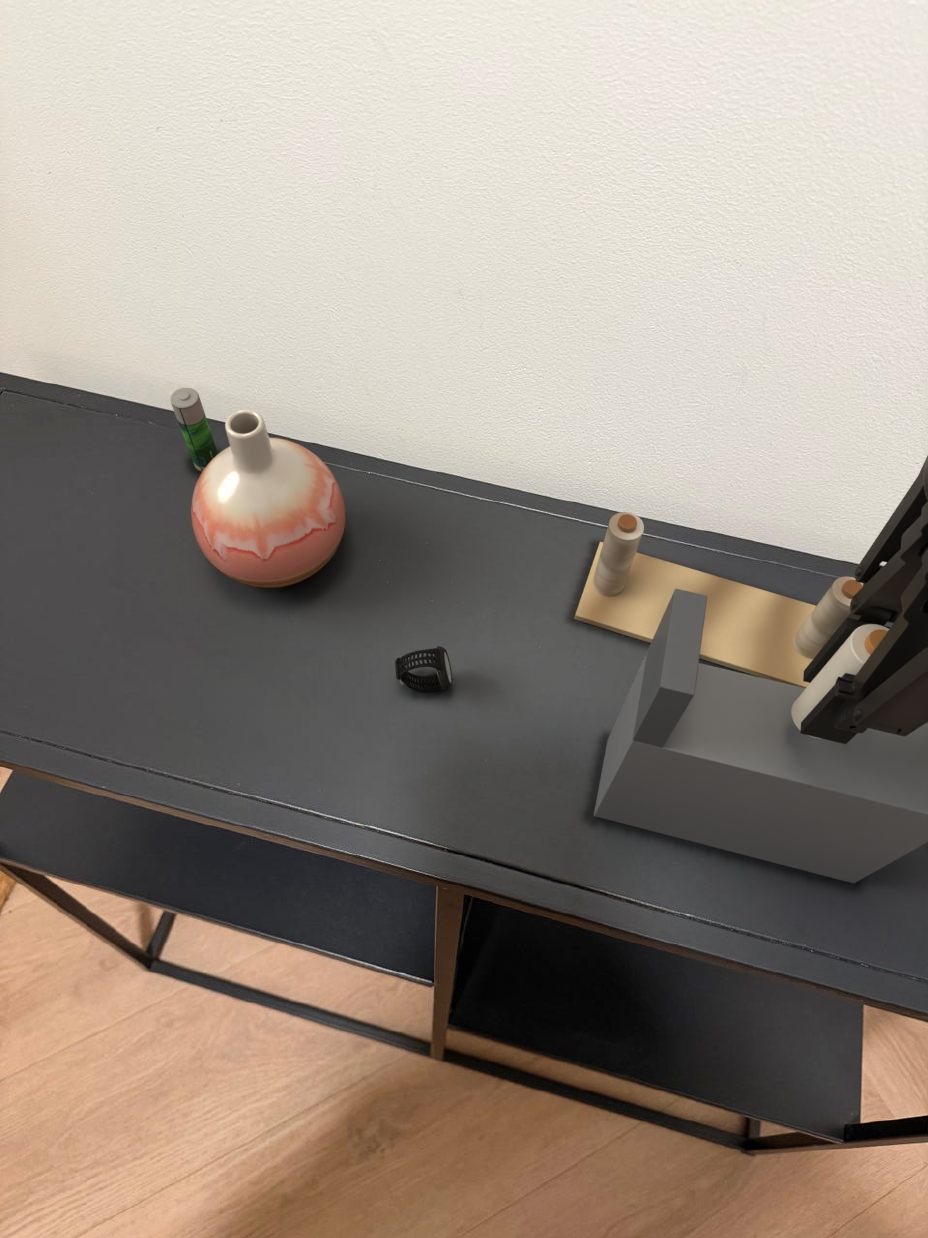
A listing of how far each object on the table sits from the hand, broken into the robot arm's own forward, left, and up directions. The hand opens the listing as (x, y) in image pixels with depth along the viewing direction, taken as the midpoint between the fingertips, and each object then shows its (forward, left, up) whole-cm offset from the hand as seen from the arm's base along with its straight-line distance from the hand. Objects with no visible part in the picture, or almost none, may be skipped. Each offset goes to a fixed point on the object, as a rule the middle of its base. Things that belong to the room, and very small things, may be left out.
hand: (824, 706), depth 51 cm
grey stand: (0, 0, -21) cm, 21 cm away
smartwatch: (+26, +9, -21) cm, 34 cm away
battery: (+60, +7, -21) cm, 64 cm away
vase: (+46, +9, -21) cm, 51 cm away
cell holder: (+12, -14, -21) cm, 28 cm away
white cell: (0, 0, -2) cm, 2 cm away
